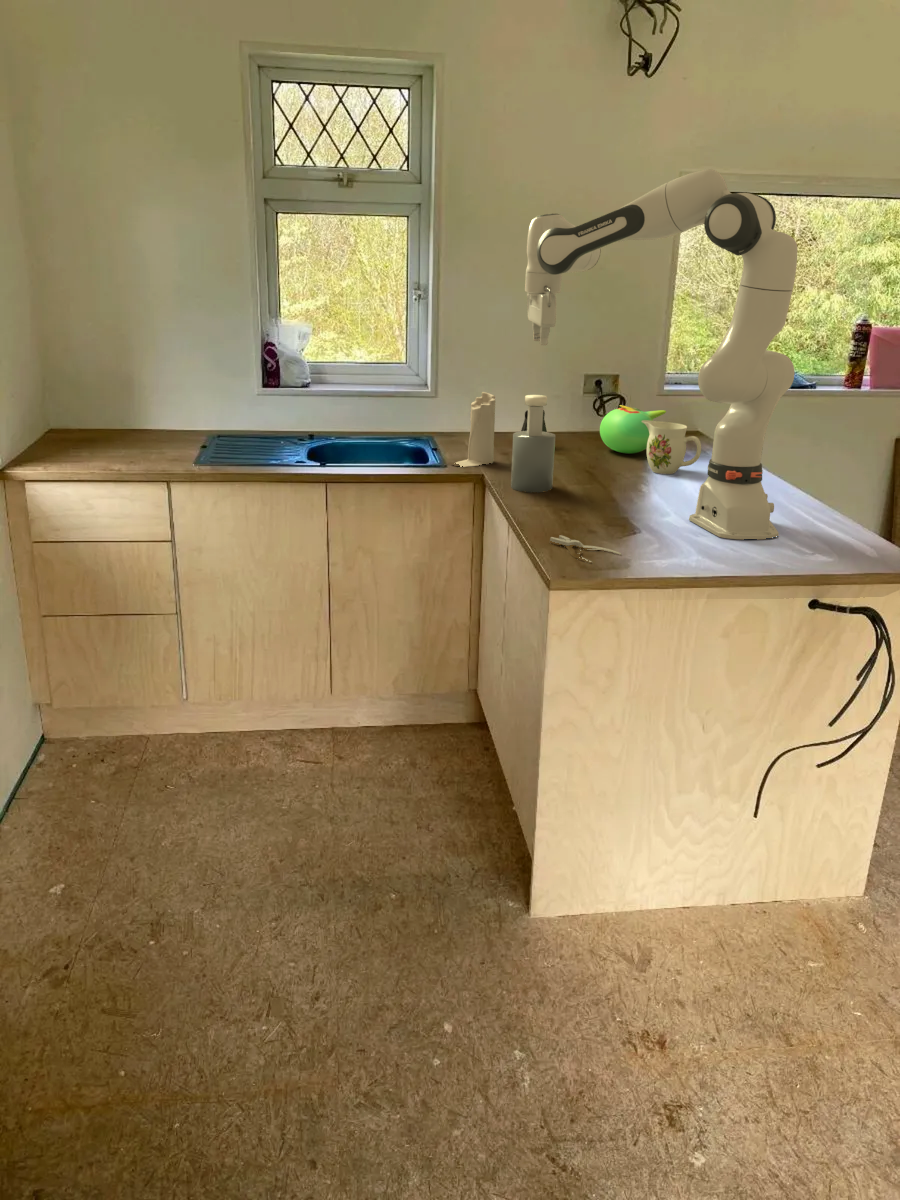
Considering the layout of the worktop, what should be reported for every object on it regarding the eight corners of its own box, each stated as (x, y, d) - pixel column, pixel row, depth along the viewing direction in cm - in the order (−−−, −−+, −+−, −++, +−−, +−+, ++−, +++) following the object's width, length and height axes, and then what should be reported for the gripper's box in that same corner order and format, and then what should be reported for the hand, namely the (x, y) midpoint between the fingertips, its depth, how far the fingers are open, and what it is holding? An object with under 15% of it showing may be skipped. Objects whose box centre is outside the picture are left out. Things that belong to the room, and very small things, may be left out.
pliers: (590, 558, 189) (538, 540, 200) (589, 565, 189) (538, 547, 200) (622, 549, 195) (571, 532, 205) (622, 556, 195) (570, 538, 206)
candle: (446, 464, 270) (447, 394, 263) (482, 458, 278) (484, 390, 271) (462, 468, 265) (464, 398, 258) (498, 462, 273) (500, 393, 266)
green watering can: (588, 449, 293) (591, 402, 288) (630, 444, 301) (634, 398, 295) (622, 460, 278) (627, 411, 273) (667, 455, 286) (672, 408, 280)
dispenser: (555, 492, 242) (560, 409, 234) (514, 492, 241) (517, 409, 233) (548, 482, 252) (552, 402, 244) (508, 482, 251) (511, 402, 244)
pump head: (546, 433, 239) (548, 398, 236) (525, 433, 238) (527, 398, 235) (543, 429, 244) (545, 394, 241) (522, 429, 244) (523, 394, 240)
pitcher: (691, 480, 257) (697, 430, 252) (630, 471, 266) (634, 423, 261) (703, 472, 266) (709, 424, 261) (644, 464, 275) (648, 417, 270)
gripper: (564, 287, 219) (560, 347, 224) (548, 283, 238) (545, 339, 243) (537, 287, 219) (534, 347, 224) (524, 283, 238) (521, 338, 243)
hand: (540, 343), depth 234 cm, fingers open, 8 cm apart
